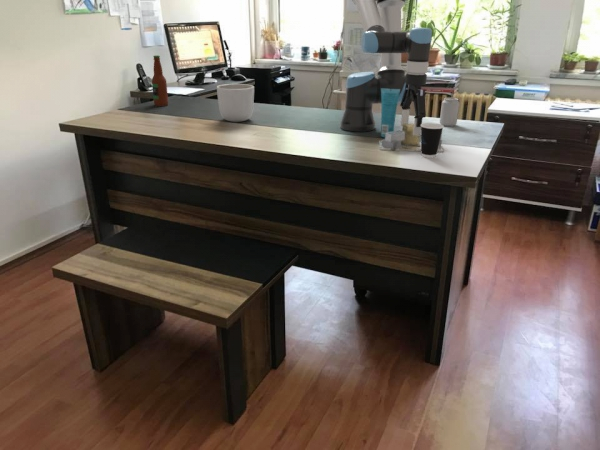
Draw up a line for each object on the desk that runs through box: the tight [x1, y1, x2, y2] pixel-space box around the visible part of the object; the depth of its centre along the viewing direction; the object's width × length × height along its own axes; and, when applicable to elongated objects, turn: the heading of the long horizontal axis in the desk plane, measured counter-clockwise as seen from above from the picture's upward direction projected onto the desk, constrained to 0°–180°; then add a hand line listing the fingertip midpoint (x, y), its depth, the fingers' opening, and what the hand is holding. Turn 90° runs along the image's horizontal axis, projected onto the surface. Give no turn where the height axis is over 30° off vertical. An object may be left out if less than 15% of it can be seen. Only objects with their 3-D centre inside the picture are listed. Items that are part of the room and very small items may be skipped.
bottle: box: [151, 55, 169, 107], centre depth 258 cm, size 7×7×25 cm
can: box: [439, 97, 460, 127], centre depth 224 cm, size 8×8×12 cm
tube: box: [380, 88, 400, 138], centre depth 200 cm, size 7×5×19 cm, turn 83°
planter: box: [216, 83, 255, 123], centre depth 228 cm, size 17×17×15 cm
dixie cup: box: [420, 122, 445, 159], centre depth 175 cm, size 8×8×11 cm
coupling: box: [401, 123, 420, 145], centre depth 190 cm, size 5×5×7 cm
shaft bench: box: [378, 129, 444, 153], centre depth 188 cm, size 23×14×6 cm, turn 84°
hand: (410, 130), depth 190 cm, fingers open, 13 cm apart
